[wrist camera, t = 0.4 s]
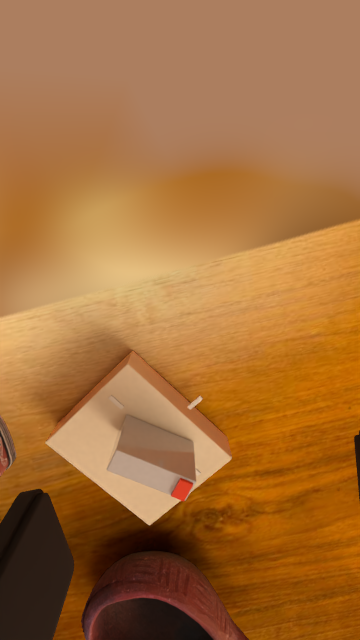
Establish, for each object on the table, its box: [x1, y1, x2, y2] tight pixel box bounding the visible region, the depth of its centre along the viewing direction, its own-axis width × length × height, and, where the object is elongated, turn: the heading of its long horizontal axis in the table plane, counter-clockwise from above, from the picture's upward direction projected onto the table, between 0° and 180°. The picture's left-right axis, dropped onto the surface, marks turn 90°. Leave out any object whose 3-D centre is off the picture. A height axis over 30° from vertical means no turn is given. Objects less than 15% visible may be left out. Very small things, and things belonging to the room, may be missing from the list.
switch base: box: [45, 351, 232, 526], centre depth 28 cm, size 12×12×3 cm
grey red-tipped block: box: [107, 414, 196, 501], centre depth 24 cm, size 6×2×5 cm, turn 65°
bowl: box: [81, 551, 249, 640], centre depth 30 cm, size 16×13×8 cm
